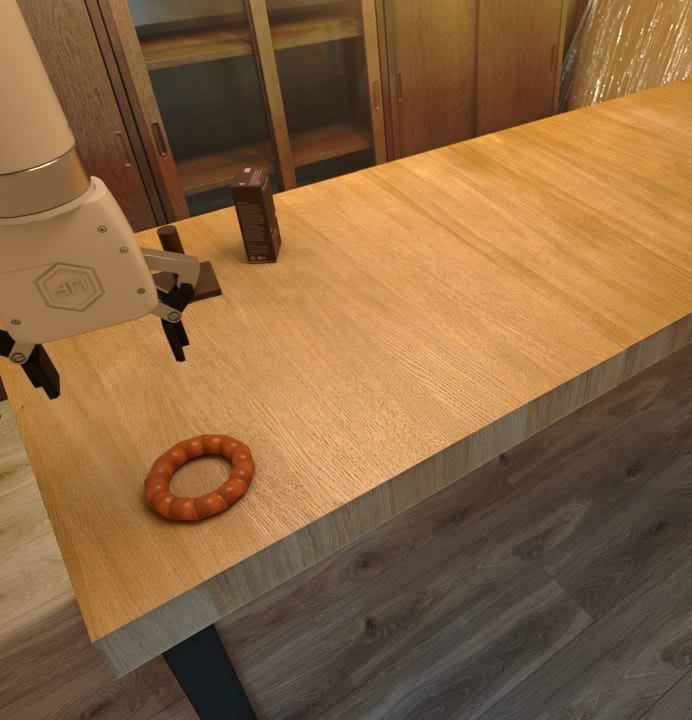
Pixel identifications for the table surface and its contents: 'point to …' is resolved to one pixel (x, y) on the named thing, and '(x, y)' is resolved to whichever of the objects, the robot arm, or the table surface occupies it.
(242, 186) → the box
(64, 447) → the table surface
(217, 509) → the ring
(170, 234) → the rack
